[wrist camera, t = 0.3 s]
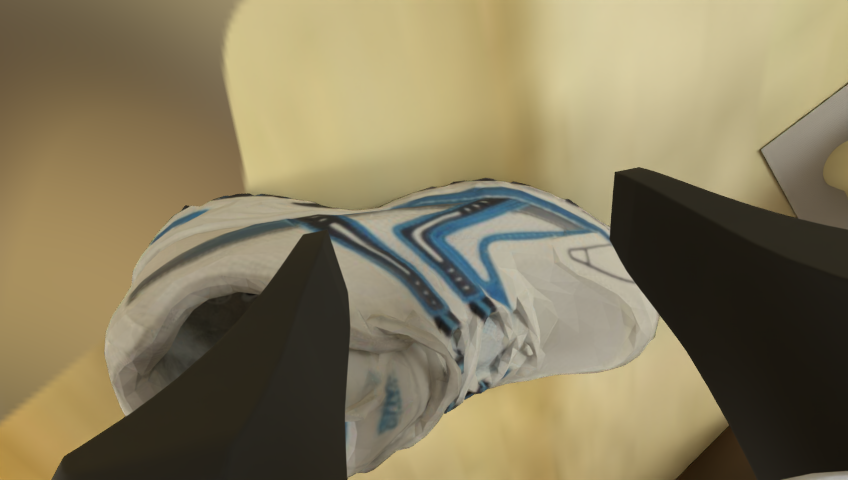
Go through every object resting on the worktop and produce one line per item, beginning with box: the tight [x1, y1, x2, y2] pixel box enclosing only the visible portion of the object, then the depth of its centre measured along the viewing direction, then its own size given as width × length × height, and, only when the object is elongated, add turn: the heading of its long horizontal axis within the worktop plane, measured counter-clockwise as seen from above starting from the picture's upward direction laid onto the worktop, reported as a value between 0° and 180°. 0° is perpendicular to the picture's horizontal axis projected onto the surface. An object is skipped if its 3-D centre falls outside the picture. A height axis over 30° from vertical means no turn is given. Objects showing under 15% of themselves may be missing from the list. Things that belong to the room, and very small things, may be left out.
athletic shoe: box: [104, 178, 660, 478], centre depth 20 cm, size 10×23×12 cm, turn 93°
